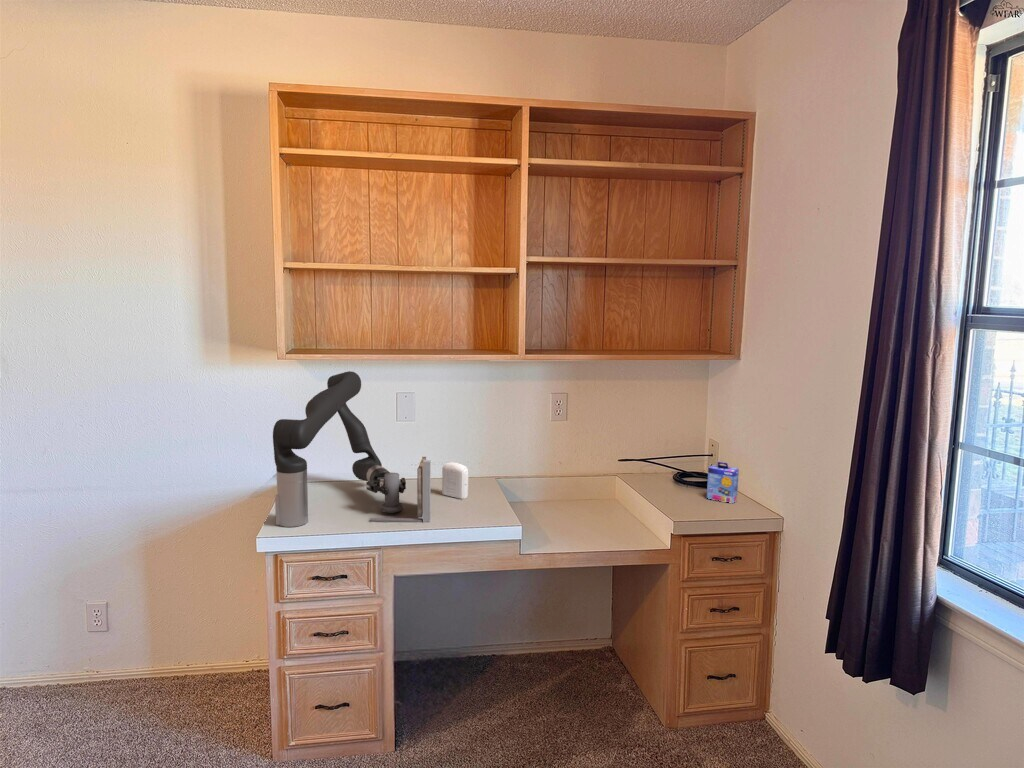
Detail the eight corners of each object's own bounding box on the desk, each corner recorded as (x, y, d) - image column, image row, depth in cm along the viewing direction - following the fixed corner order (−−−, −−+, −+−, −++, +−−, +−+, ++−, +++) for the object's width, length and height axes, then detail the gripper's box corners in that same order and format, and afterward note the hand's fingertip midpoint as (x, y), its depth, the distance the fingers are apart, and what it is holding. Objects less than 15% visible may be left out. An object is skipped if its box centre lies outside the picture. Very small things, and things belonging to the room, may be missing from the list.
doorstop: (379, 512, 230) (379, 477, 228) (383, 506, 237) (382, 471, 235) (401, 512, 230) (401, 477, 228) (403, 506, 237) (403, 471, 235)
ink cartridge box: (705, 499, 255) (707, 460, 253) (710, 496, 260) (712, 458, 258) (732, 504, 250) (735, 465, 248) (737, 500, 254) (739, 462, 252)
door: (422, 501, 241) (422, 456, 239) (430, 502, 242) (430, 456, 239) (417, 517, 225) (417, 469, 223) (426, 517, 225) (426, 469, 223)
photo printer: (469, 497, 253) (470, 463, 251) (462, 500, 250) (462, 466, 248) (447, 492, 259) (447, 459, 257) (440, 495, 255) (440, 461, 254)
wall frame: (369, 522, 224) (368, 461, 222) (370, 519, 227) (370, 459, 224) (429, 522, 225) (429, 461, 222) (430, 520, 227) (430, 460, 225)
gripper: (359, 469, 241) (373, 482, 226) (399, 465, 248) (415, 477, 233) (359, 490, 242) (373, 504, 227) (399, 486, 249) (415, 499, 234)
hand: (394, 491), depth 230 cm, fingers closed on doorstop, 4 cm apart
